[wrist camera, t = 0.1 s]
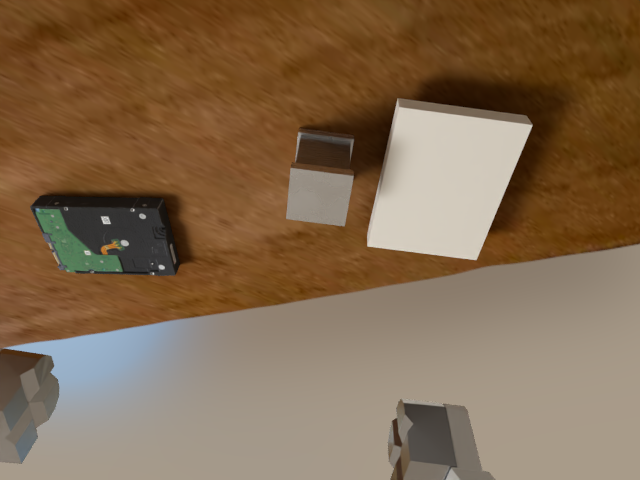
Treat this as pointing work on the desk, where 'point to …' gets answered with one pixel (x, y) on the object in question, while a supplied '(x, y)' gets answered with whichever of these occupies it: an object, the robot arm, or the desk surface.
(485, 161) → the stand
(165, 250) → the disk drive
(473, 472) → the robot arm
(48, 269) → the desk surface
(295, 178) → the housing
